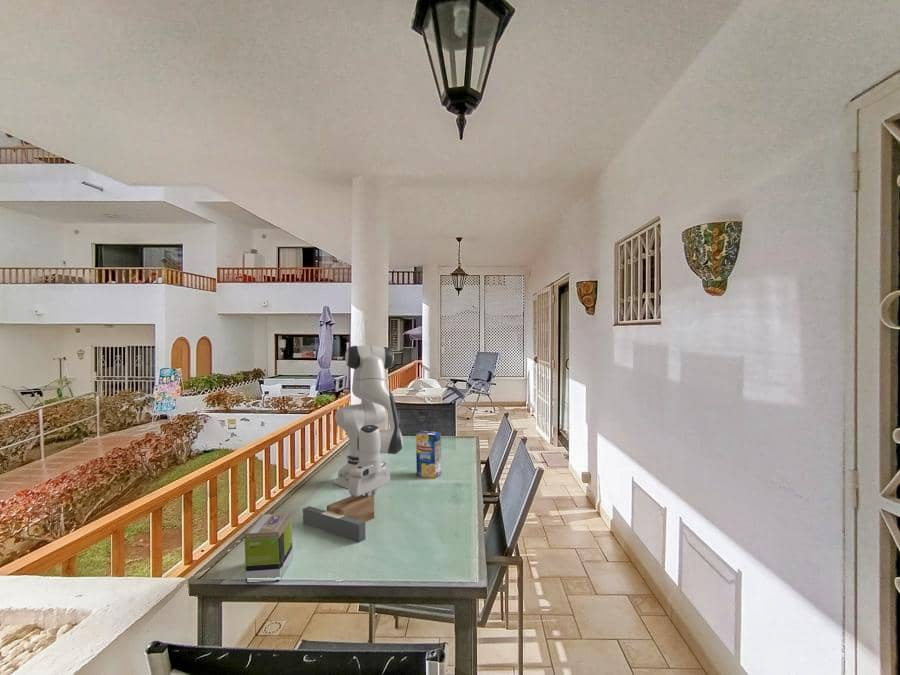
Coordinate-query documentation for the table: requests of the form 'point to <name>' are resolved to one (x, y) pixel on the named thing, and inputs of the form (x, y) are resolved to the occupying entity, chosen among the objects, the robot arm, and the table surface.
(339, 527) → the stop board
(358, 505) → the walnut block
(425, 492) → the table surface
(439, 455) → the beverage box
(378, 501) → the table surface
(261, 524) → the tea box
